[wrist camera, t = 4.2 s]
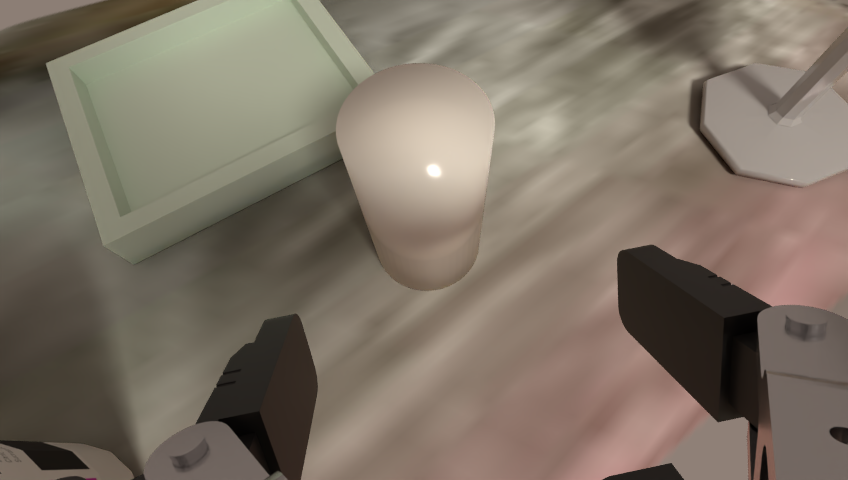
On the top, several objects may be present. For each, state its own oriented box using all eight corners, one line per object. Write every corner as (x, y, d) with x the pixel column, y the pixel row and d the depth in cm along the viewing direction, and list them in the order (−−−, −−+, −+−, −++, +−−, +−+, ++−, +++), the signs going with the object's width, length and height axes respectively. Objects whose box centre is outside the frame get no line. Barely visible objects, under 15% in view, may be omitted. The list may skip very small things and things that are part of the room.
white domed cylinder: (409, 310, 24) (383, 219, 15) (359, 228, 26) (309, 104, 17) (499, 256, 25) (527, 140, 16) (443, 181, 27) (440, 42, 18)
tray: (134, 264, 26) (103, 246, 23) (74, 91, 31) (45, 63, 29) (399, 129, 29) (395, 101, 26) (300, -6, 34) (290, -38, 32)
